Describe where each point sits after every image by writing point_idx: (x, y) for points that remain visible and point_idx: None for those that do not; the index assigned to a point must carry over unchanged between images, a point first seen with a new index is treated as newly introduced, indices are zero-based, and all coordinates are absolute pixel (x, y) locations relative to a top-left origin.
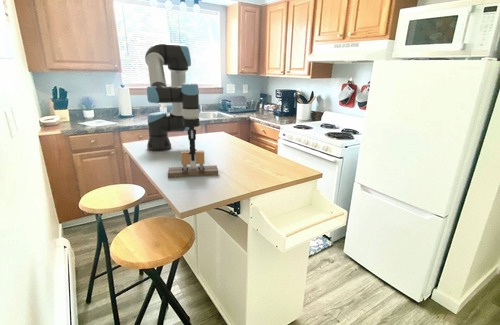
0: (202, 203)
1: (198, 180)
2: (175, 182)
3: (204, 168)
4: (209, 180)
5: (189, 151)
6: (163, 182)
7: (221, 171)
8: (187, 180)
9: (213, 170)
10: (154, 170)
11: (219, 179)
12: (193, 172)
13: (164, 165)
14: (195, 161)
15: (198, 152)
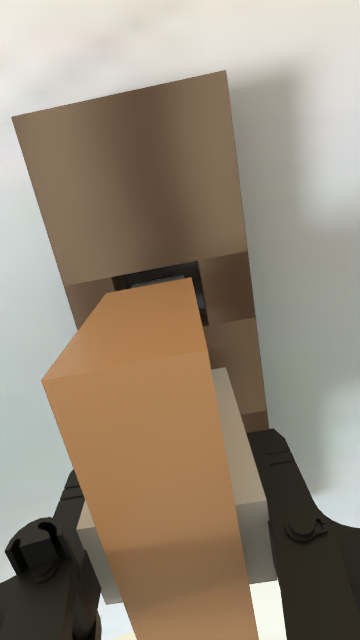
0: None
1: (335, 290)
2: (354, 447)
3: (154, 268)
4: (348, 184)
5: (172, 620)
6: (343, 513)
7: (71, 61)
8: (324, 377)
9: (223, 144)
10: (119, 603)
11: (332, 68)
12: (258, 362)
13: (6, 578)
14: (237, 407)
15: (227, 469)
